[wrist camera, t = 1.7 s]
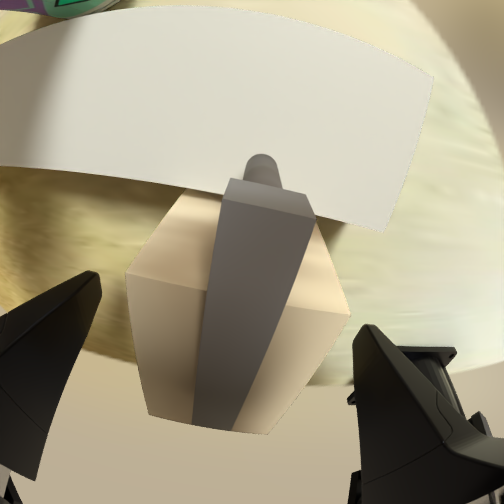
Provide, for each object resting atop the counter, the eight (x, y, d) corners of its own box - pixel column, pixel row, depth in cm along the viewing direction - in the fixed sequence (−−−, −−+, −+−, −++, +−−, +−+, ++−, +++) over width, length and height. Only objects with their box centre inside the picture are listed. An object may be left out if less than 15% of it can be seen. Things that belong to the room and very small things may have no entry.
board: (396, 79, 7) (437, 77, 5) (358, 202, 10) (385, 235, 7) (-1, 59, 6) (-38, 64, 3) (-8, 149, 8) (-43, 165, 6)
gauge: (320, 148, 9) (423, 248, 3) (266, 316, 13) (267, 454, 7) (206, 123, 8) (94, 177, 3) (183, 300, 12) (143, 434, 7)
